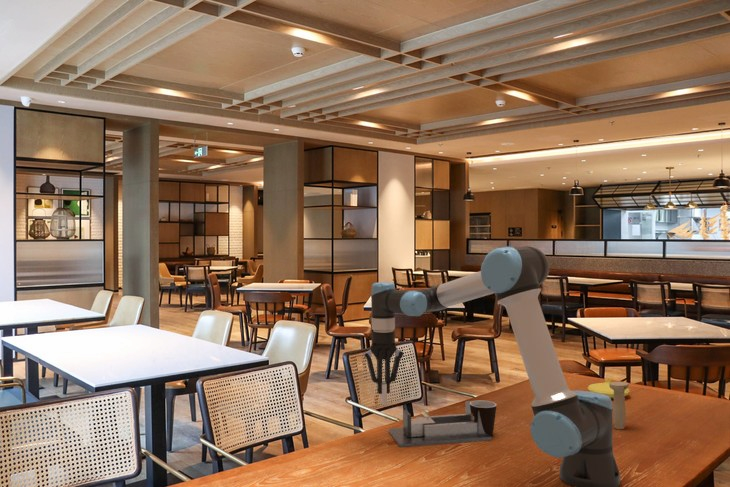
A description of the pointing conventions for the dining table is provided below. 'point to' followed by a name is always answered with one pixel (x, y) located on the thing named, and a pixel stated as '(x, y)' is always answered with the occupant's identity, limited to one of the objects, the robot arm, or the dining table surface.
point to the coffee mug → (484, 414)
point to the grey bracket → (415, 424)
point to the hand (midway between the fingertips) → (383, 403)
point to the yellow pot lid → (604, 388)
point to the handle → (619, 403)
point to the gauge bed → (423, 441)
